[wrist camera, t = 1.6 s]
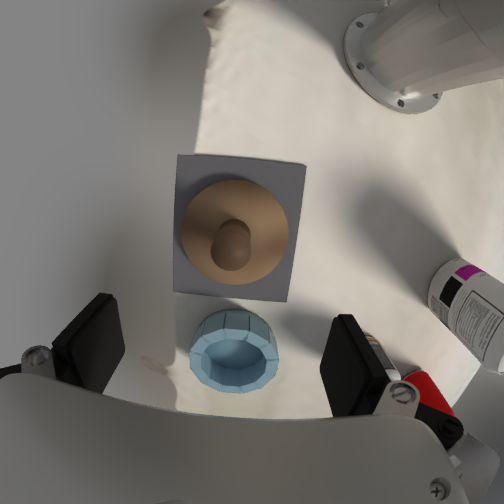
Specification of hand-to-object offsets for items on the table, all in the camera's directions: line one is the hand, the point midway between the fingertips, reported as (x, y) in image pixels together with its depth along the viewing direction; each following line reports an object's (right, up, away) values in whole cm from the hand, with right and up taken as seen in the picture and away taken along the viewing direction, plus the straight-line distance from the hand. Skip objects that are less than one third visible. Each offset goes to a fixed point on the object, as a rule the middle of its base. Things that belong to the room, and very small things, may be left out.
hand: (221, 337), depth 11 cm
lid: (0, +5, +15) cm, 16 cm away
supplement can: (+27, -1, +18) cm, 32 cm away
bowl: (-1, -7, +19) cm, 21 cm away
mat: (0, +5, +15) cm, 16 cm away
